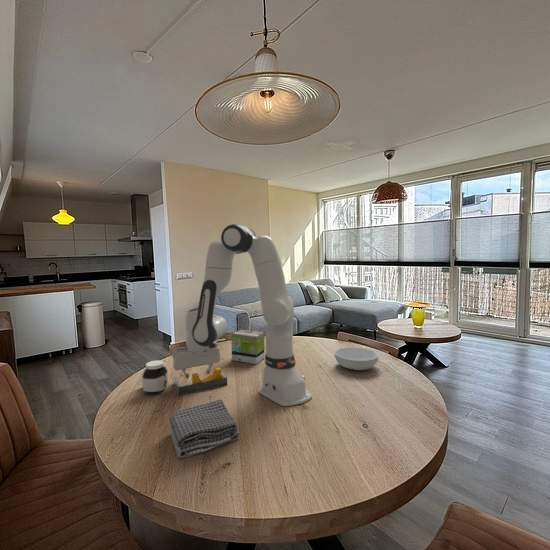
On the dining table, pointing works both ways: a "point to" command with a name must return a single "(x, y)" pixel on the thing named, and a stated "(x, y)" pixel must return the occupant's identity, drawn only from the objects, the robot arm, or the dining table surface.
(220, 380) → the tray
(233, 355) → the tea box
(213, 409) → the towel
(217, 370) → the pipe clamp
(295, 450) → the dining table surface
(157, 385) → the spread jar
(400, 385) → the dining table surface
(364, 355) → the serving bowl
